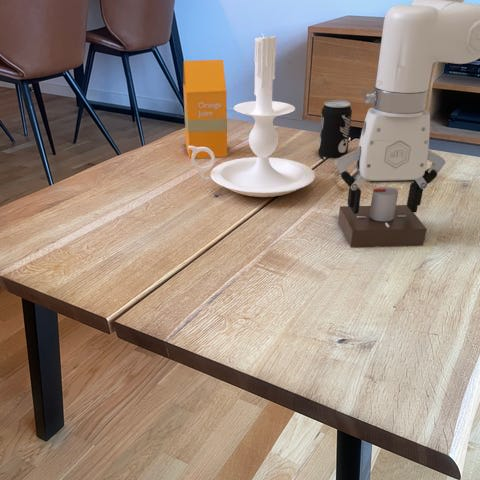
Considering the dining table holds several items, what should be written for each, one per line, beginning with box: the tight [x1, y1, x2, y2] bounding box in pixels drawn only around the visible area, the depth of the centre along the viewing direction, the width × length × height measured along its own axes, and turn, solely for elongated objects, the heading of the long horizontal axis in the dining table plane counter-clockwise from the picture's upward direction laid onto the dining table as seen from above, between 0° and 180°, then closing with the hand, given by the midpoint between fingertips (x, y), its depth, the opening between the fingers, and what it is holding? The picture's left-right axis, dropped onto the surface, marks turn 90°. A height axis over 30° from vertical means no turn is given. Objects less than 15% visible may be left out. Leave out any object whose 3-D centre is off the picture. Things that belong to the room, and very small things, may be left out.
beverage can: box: [318, 99, 353, 161], centre depth 125 cm, size 7×7×12 cm
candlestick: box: [188, 33, 316, 198], centre depth 103 cm, size 21×25×28 cm
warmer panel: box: [337, 204, 427, 248], centre depth 93 cm, size 12×10×3 cm
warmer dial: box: [369, 186, 399, 222], centre depth 91 cm, size 4×4×5 cm
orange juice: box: [182, 59, 228, 160], centre depth 125 cm, size 8×9×20 cm
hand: (382, 209), depth 92 cm, fingers open, 9 cm apart
